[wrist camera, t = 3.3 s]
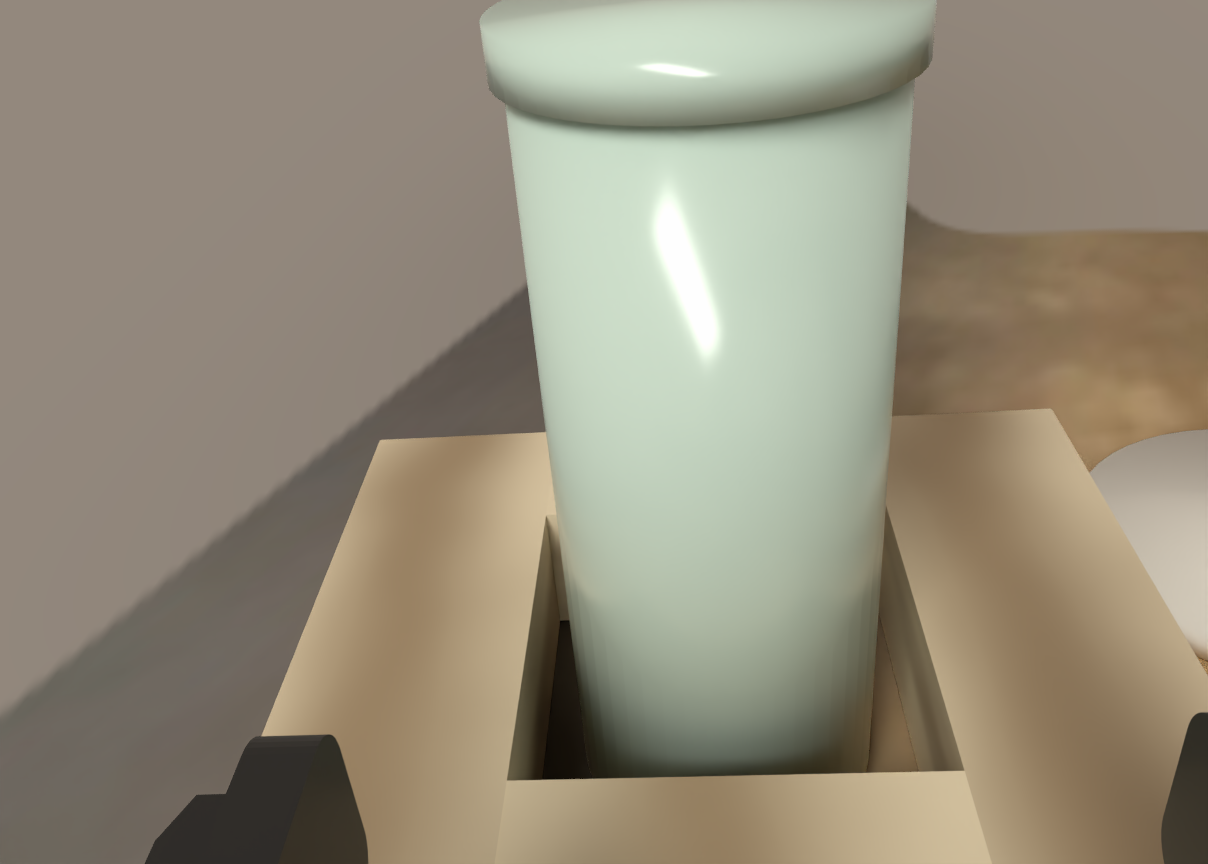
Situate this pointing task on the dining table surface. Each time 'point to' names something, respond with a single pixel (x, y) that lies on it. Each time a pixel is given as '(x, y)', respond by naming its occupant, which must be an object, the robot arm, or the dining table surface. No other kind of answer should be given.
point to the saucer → (1166, 520)
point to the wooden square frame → (758, 802)
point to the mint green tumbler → (716, 357)
